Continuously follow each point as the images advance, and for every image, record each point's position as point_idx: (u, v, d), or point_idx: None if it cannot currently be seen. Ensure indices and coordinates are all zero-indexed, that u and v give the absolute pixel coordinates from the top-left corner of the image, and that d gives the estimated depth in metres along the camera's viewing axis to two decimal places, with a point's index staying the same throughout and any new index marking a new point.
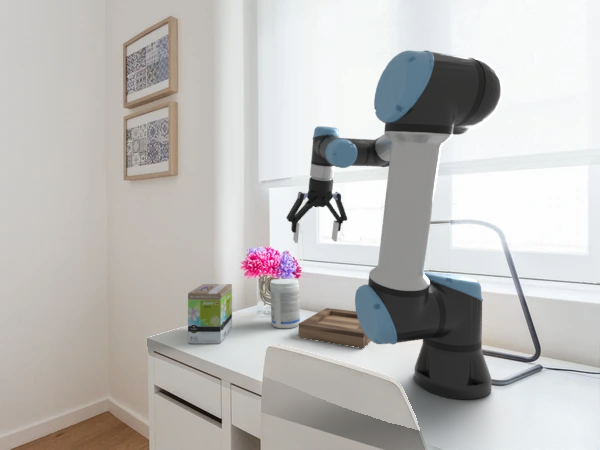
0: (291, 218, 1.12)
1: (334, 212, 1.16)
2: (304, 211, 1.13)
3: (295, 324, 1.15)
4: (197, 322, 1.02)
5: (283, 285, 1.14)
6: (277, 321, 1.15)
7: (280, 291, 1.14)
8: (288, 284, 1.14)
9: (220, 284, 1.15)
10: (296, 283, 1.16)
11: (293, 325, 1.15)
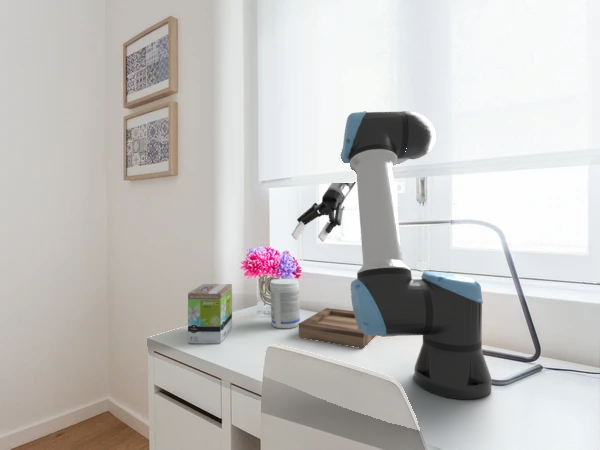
0: (299, 218, 1.34)
1: (330, 214, 1.24)
2: (310, 213, 1.32)
3: (295, 324, 1.15)
4: (197, 322, 1.02)
5: (283, 285, 1.14)
6: (277, 321, 1.15)
7: (280, 291, 1.14)
8: (288, 284, 1.14)
9: (220, 284, 1.15)
10: (296, 283, 1.16)
11: (293, 325, 1.15)
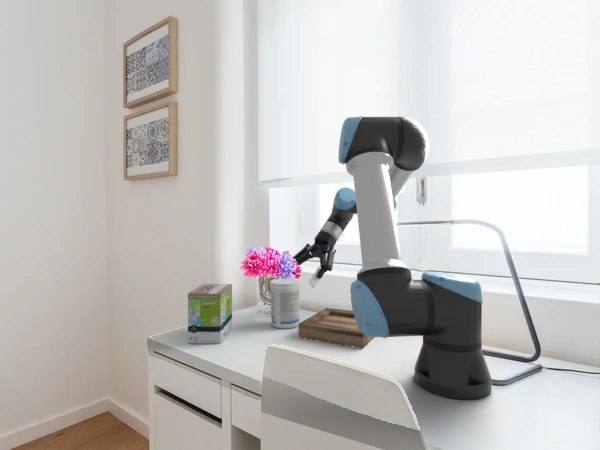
0: None
1: (321, 258, 1.23)
2: (302, 255, 1.31)
3: (295, 324, 1.15)
4: (197, 322, 1.02)
5: (283, 285, 1.14)
6: (277, 321, 1.15)
7: (280, 291, 1.14)
8: (288, 284, 1.14)
9: (220, 284, 1.15)
10: (296, 283, 1.16)
11: (293, 325, 1.15)
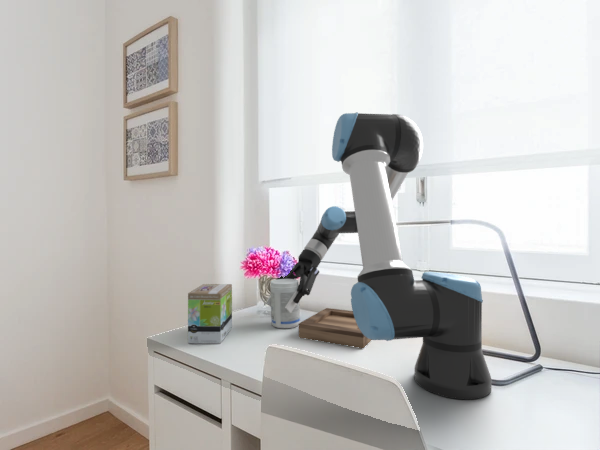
0: None
1: (301, 280, 1.18)
2: (286, 276, 1.24)
3: (295, 324, 1.15)
4: (197, 322, 1.02)
5: (283, 285, 1.14)
6: (277, 321, 1.15)
7: (280, 291, 1.14)
8: (288, 284, 1.14)
9: (220, 284, 1.15)
10: (296, 283, 1.16)
11: (293, 325, 1.15)
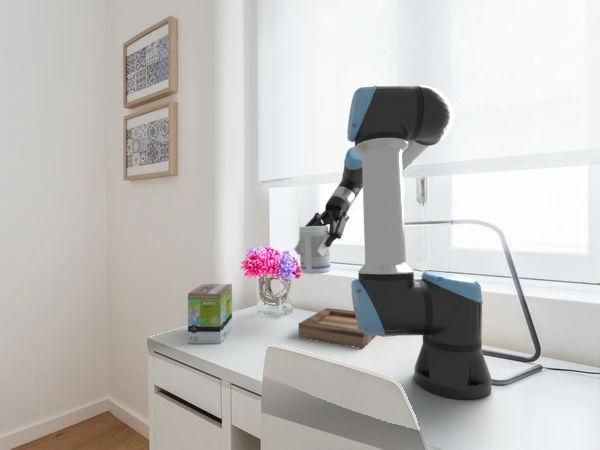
0: None
1: (331, 225, 1.13)
2: (313, 224, 1.20)
3: (326, 269, 1.11)
4: (197, 322, 1.02)
5: (314, 228, 1.10)
6: (308, 266, 1.10)
7: (311, 235, 1.10)
8: (319, 227, 1.10)
9: (220, 284, 1.15)
10: (326, 227, 1.12)
11: (324, 270, 1.11)
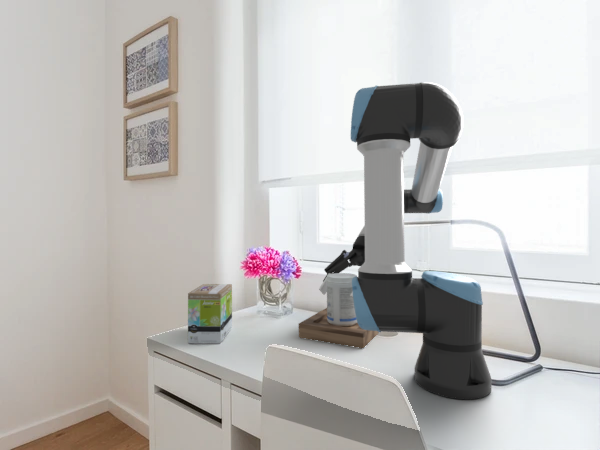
0: (327, 268, 1.18)
1: None
2: (339, 263, 1.16)
3: (354, 322, 1.07)
4: (197, 322, 1.02)
5: (343, 279, 1.05)
6: (336, 318, 1.06)
7: (340, 286, 1.05)
8: (348, 278, 1.06)
9: (220, 284, 1.15)
10: None
11: (353, 323, 1.06)
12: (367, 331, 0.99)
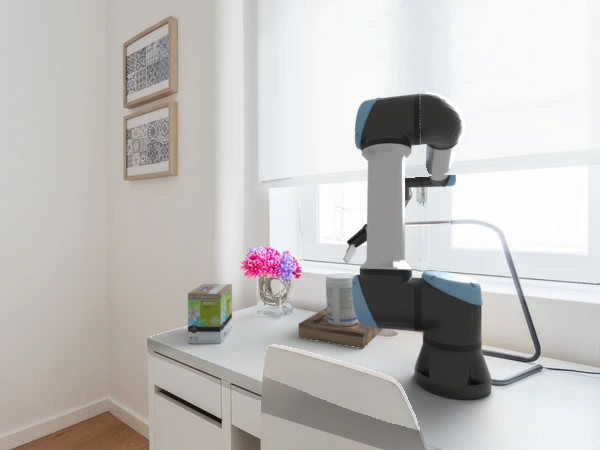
0: (349, 240, 1.26)
1: None
2: (361, 236, 1.24)
3: (354, 322, 1.07)
4: (197, 322, 1.02)
5: (342, 280, 1.05)
6: (336, 318, 1.06)
7: (339, 287, 1.05)
8: (347, 278, 1.06)
9: (220, 284, 1.15)
10: None
11: (353, 323, 1.06)
12: (367, 331, 0.99)
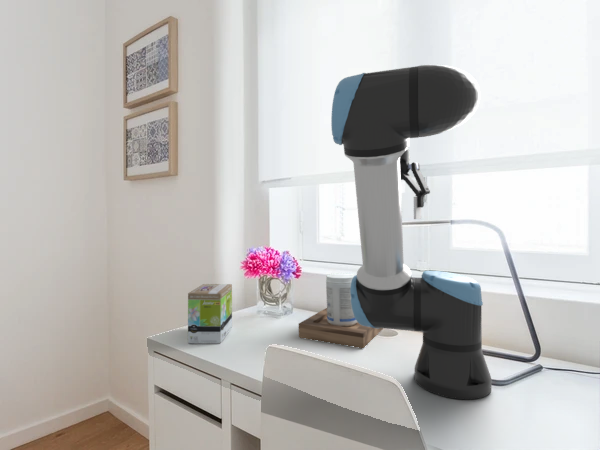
0: None
1: (410, 184, 1.04)
2: None
3: (354, 322, 1.07)
4: (197, 322, 1.02)
5: (342, 279, 1.05)
6: (336, 318, 1.06)
7: (340, 286, 1.05)
8: (348, 278, 1.06)
9: (220, 284, 1.15)
10: None
11: (353, 323, 1.06)
12: (367, 331, 0.99)
